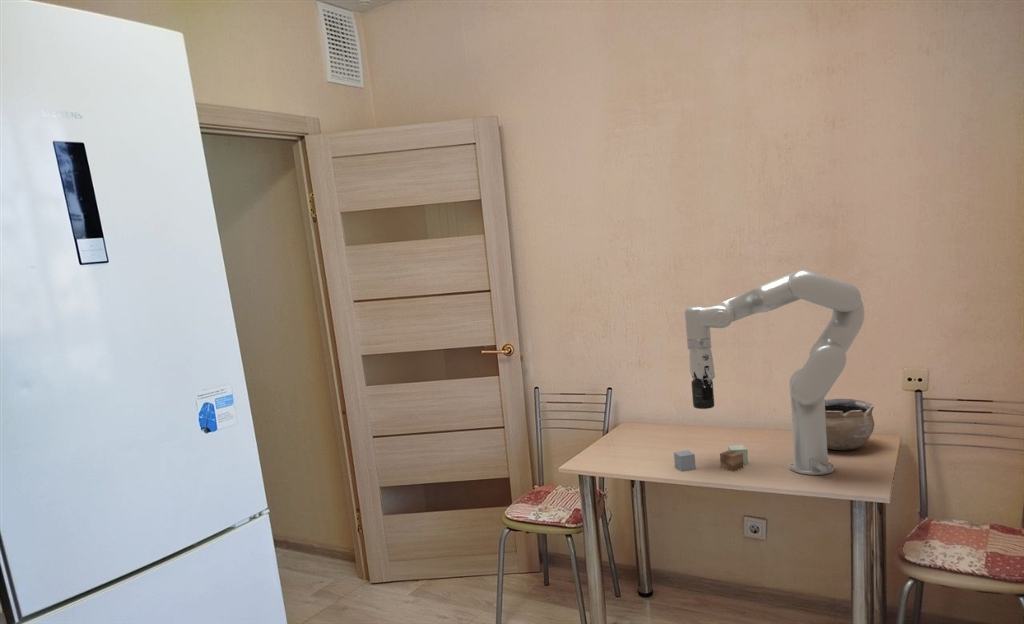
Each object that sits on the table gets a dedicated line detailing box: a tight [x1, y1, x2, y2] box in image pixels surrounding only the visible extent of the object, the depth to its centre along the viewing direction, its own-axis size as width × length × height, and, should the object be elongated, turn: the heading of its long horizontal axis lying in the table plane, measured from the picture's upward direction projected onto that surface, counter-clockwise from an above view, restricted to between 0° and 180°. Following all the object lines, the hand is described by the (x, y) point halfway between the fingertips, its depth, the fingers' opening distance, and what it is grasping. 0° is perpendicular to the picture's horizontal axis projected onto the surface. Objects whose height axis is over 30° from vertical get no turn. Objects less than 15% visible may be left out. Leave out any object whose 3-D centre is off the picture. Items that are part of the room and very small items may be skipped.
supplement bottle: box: [691, 372, 715, 410], centre depth 210 cm, size 7×7×12 cm
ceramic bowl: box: [824, 398, 875, 451], centre depth 219 cm, size 22×22×15 cm
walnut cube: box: [719, 450, 745, 472], centre depth 207 cm, size 5×5×5 cm
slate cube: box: [673, 450, 697, 472], centre depth 212 cm, size 5×5×5 cm
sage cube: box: [727, 444, 749, 465], centre depth 213 cm, size 5×5×5 cm
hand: (703, 397), depth 210 cm, fingers closed on supplement bottle, 6 cm apart
